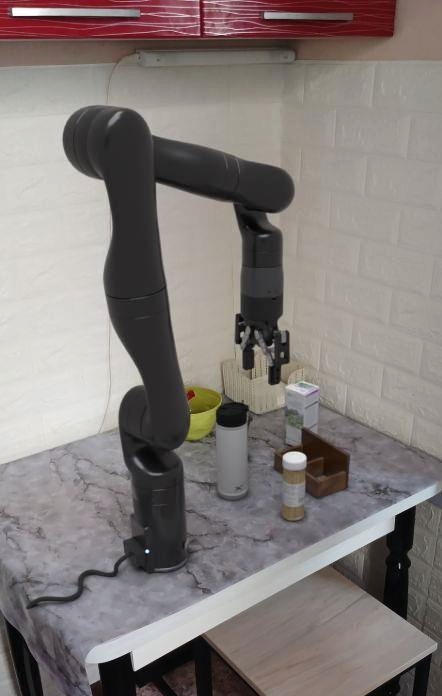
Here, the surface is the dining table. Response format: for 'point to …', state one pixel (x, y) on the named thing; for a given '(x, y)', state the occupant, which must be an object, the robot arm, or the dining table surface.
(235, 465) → the travel mug
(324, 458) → the spice rack
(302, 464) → the brown spice jar
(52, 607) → the dining table surface
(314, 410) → the syrup box
